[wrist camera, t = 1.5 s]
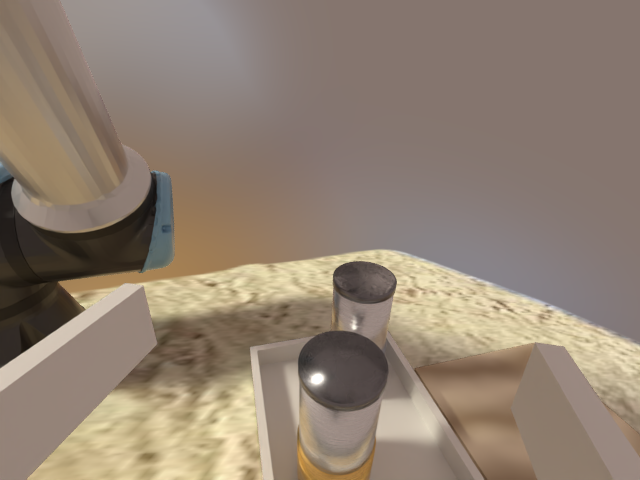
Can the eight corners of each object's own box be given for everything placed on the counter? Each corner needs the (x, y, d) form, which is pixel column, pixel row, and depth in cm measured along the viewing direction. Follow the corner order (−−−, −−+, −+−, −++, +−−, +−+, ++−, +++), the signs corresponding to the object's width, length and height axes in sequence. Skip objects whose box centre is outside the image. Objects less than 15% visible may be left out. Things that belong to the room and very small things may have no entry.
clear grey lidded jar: (320, 360, 40) (325, 264, 33) (367, 352, 41) (380, 258, 35) (336, 406, 34) (344, 301, 28) (389, 393, 36) (409, 291, 30)
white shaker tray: (251, 367, 40) (249, 346, 38) (380, 343, 44) (383, 324, 43) (274, 590, 23) (272, 569, 21) (481, 514, 27) (493, 492, 25)
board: (412, 376, 39) (414, 368, 39) (530, 351, 44) (533, 342, 43) (514, 538, 26) (520, 529, 25) (670, 477, 30) (678, 468, 29)
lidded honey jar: (291, 448, 30) (289, 337, 24) (353, 432, 32) (367, 324, 26) (306, 530, 25) (309, 414, 19) (380, 506, 26) (406, 391, 20)
